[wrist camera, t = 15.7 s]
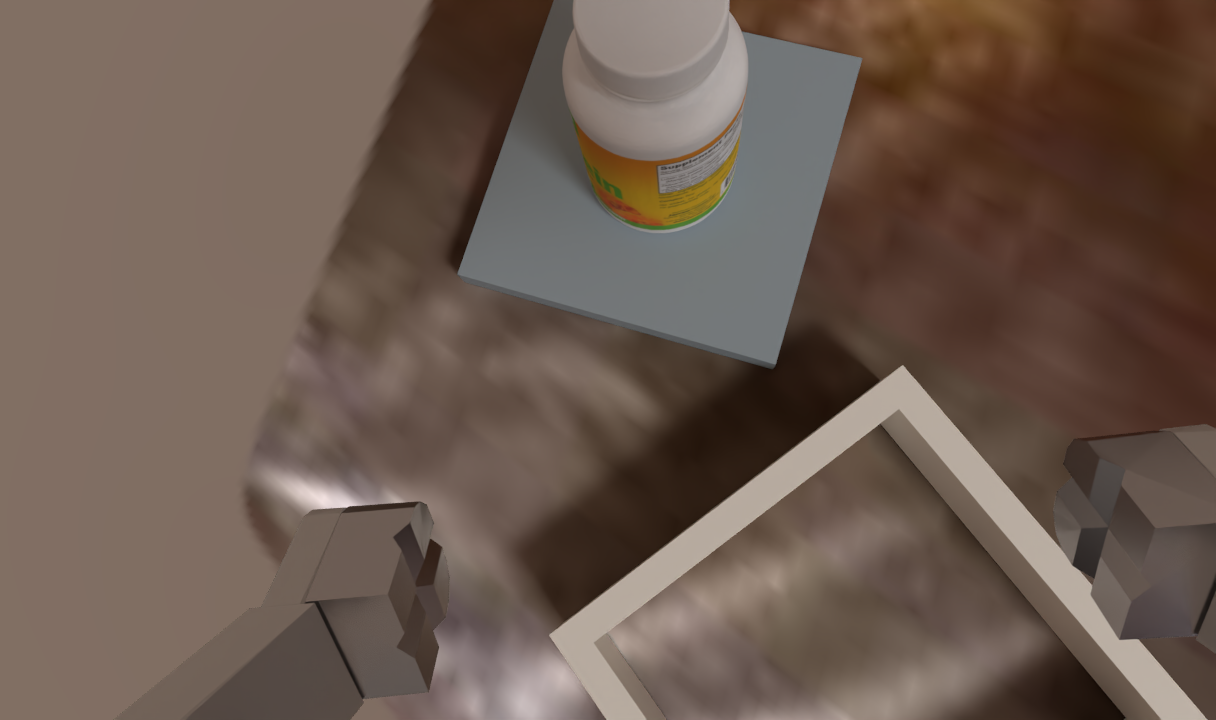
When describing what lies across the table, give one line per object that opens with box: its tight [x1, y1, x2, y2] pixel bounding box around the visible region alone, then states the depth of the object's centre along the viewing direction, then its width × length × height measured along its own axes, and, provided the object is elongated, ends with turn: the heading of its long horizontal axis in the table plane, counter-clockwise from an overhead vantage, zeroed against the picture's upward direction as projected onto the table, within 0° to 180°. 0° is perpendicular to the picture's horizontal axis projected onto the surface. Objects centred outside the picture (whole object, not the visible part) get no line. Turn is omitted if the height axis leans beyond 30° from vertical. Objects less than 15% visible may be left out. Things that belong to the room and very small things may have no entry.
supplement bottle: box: [562, 0, 748, 233], centre depth 25 cm, size 5×5×10 cm
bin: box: [549, 365, 1207, 720], centre depth 25 cm, size 14×14×3 cm
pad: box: [457, 0, 862, 369], centre depth 30 cm, size 12×12×1 cm
